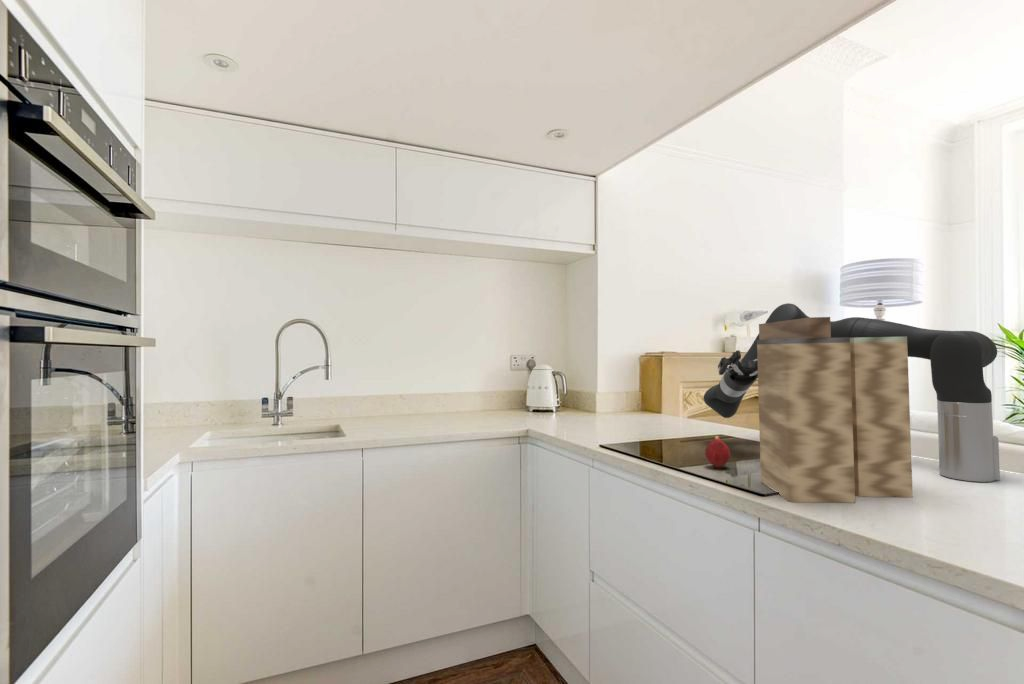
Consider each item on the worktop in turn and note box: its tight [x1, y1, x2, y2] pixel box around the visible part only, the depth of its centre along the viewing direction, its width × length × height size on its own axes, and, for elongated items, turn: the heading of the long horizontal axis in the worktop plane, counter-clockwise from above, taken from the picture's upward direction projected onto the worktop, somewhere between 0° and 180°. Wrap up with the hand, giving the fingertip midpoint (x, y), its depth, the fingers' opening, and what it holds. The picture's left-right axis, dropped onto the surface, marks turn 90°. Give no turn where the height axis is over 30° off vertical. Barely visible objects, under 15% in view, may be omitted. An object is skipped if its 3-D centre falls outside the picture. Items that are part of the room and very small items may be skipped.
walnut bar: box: [758, 316, 831, 340], centre depth 107 cm, size 4×24×4 cm, turn 174°
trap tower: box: [757, 337, 856, 504], centre depth 103 cm, size 12×14×32 cm
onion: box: [704, 435, 731, 469], centre depth 125 cm, size 6×6×8 cm
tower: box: [850, 336, 914, 498], centre depth 105 cm, size 10×14×32 cm
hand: (756, 353), depth 126 cm, fingers open, 8 cm apart
